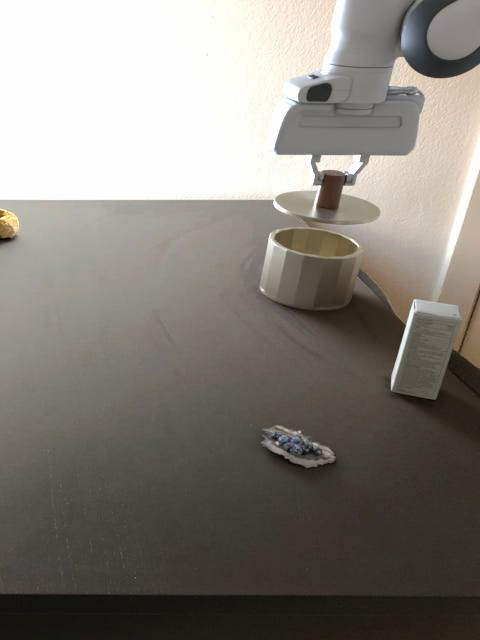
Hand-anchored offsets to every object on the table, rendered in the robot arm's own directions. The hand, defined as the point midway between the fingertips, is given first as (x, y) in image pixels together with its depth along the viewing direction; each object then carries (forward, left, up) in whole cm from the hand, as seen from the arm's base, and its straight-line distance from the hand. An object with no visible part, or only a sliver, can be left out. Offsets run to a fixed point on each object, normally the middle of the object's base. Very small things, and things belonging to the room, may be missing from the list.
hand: (330, 184), depth 109 cm
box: (-3, +29, -18) cm, 34 cm away
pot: (0, 0, -17) cm, 17 cm away
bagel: (+50, -26, -18) cm, 59 cm away
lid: (0, 0, -4) cm, 4 cm away
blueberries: (+16, +42, -18) cm, 48 cm away
